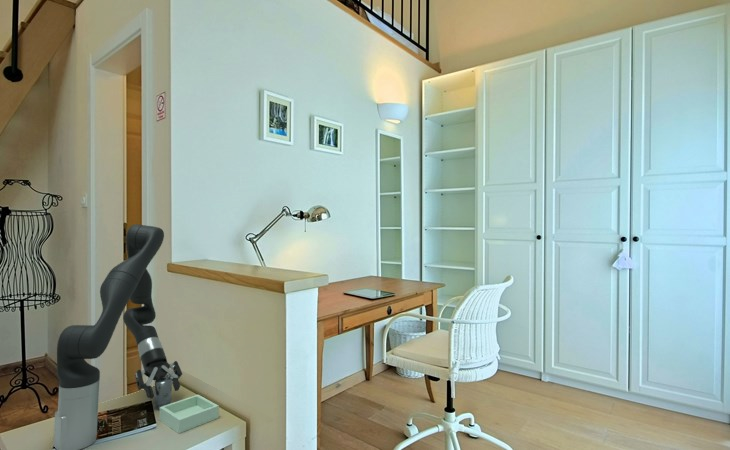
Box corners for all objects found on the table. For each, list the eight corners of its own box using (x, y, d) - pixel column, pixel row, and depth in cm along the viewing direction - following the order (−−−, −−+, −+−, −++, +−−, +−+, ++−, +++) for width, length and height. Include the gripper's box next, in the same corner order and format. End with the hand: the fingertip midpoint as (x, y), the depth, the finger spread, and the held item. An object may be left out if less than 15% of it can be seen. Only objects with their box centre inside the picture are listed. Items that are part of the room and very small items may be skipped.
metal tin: (158, 411, 127) (158, 384, 127) (151, 406, 130) (152, 380, 130) (173, 406, 131) (174, 380, 131) (167, 401, 134) (167, 376, 134)
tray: (178, 433, 114) (179, 420, 114) (159, 419, 122) (159, 407, 122) (218, 417, 124) (218, 405, 124) (197, 406, 132) (198, 394, 132)
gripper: (134, 351, 130) (146, 394, 123) (175, 343, 142) (189, 382, 134) (126, 363, 133) (139, 406, 126) (168, 354, 145) (181, 392, 137)
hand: (165, 393), depth 130 cm, fingers open, 8 cm apart
